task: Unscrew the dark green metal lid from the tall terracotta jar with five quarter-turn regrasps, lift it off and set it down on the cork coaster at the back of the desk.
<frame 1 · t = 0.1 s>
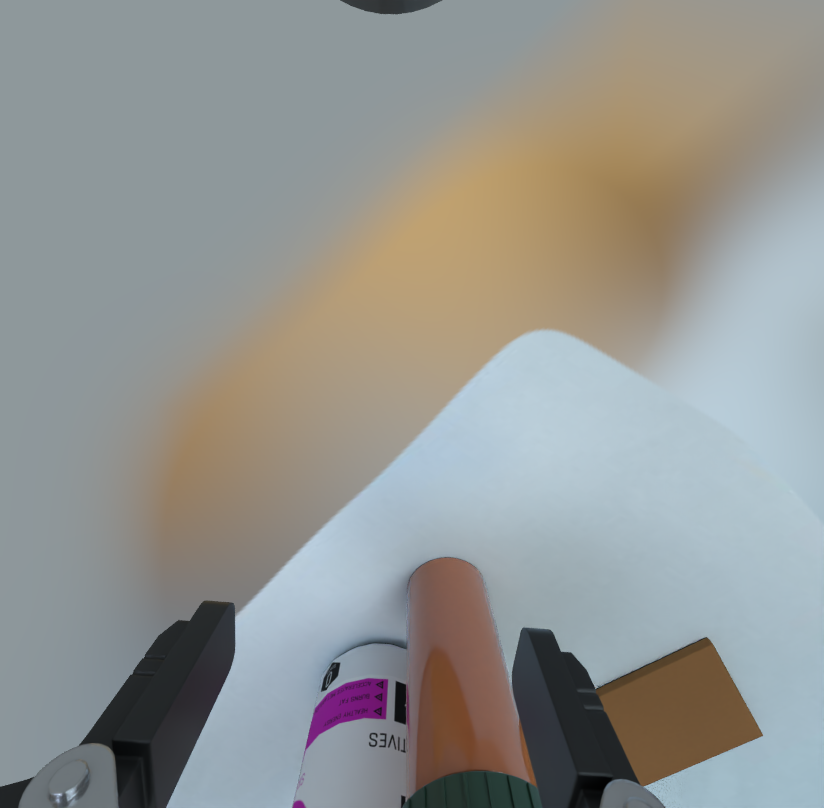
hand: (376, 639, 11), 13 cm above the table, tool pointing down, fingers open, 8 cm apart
supplement can: (379, 680, 29), on the table
coaster: (667, 713, 30), on the table
jar: (446, 590, 27), on the table
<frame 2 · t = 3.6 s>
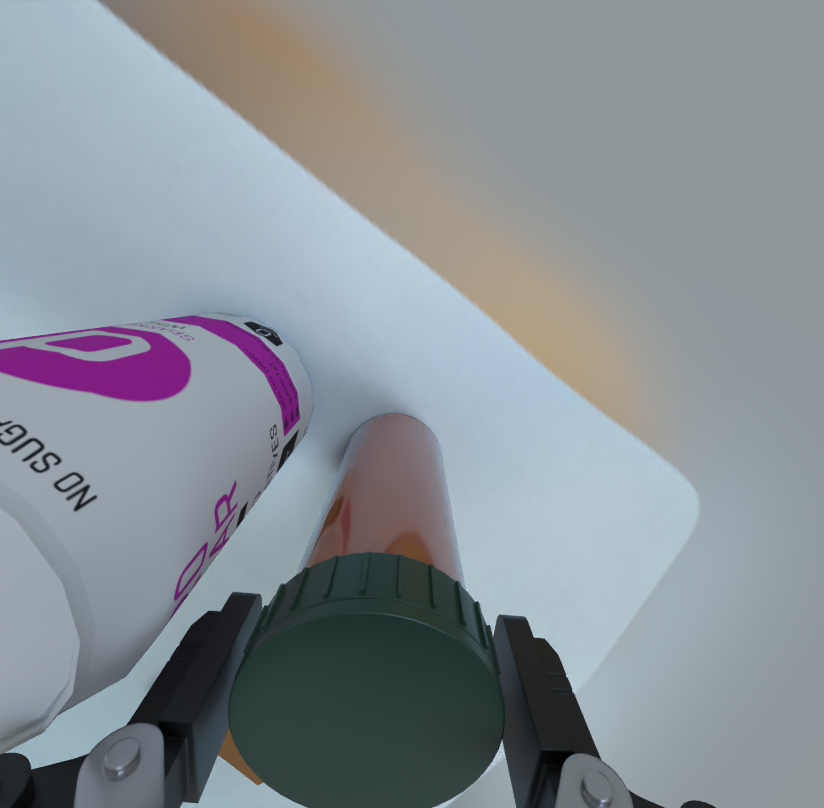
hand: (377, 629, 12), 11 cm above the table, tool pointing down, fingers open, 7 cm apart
supplement can: (239, 391, 21), on the table
coaster: (261, 701, 27), on the table
jar: (394, 458, 22), on the table
lid: (368, 707, 9), point 14 cm above the table, screwed on, not yet turned
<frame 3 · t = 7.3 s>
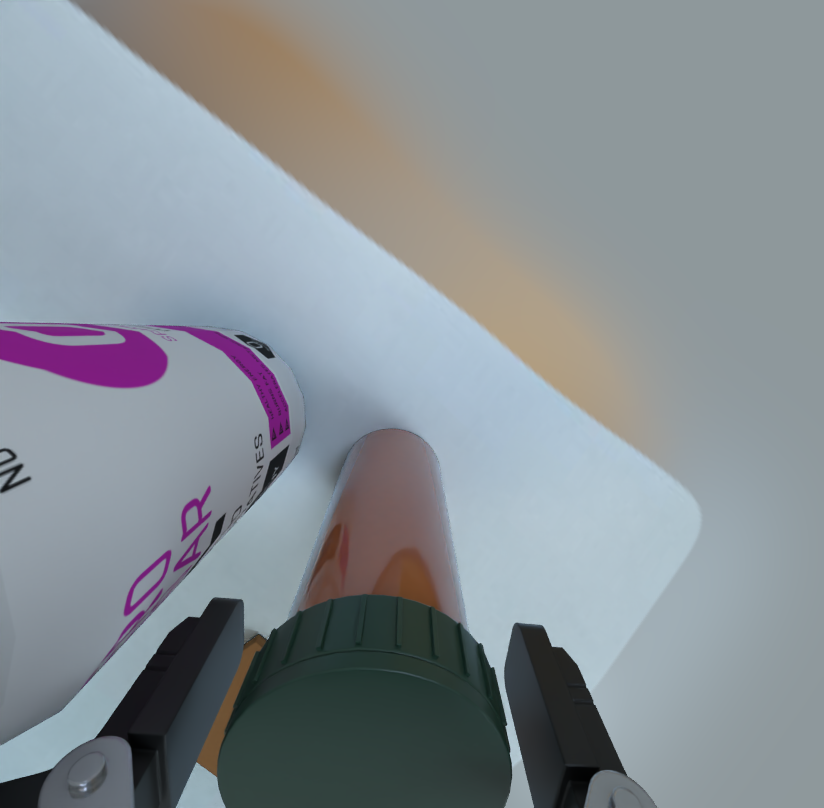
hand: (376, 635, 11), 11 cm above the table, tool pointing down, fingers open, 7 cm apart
supplement can: (229, 409, 21), on the table
coaster: (258, 720, 27), on the table
jar: (391, 473, 22), on the table
lid: (367, 761, 9), point 14 cm above the table, turned 90° so far, risen 0.1 cm, still on its thread
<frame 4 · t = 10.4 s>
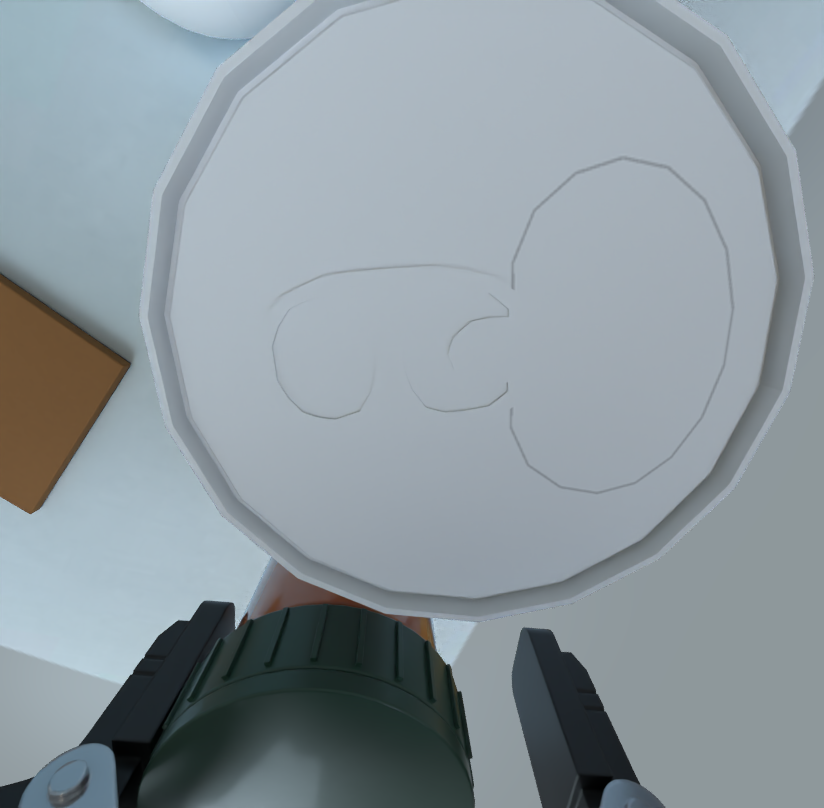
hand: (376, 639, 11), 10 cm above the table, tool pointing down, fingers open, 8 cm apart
supplement can: (423, 302, 19), on the table
jar: (365, 477, 21), on the table
lid: (313, 795, 8), point 14 cm above the table, turned 172° so far, risen 0.2 cm, still on its thread
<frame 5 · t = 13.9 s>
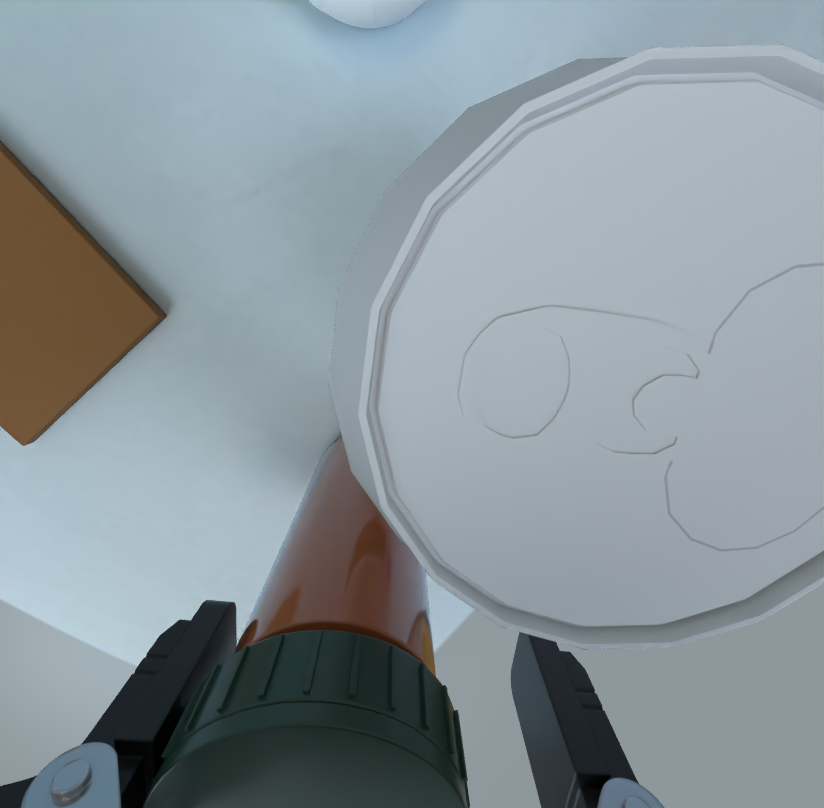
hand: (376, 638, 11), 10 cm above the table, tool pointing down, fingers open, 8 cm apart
supplement can: (470, 318, 19), on the table
coaster: (11, 299, 19), on the table
jar: (366, 478, 21), on the table
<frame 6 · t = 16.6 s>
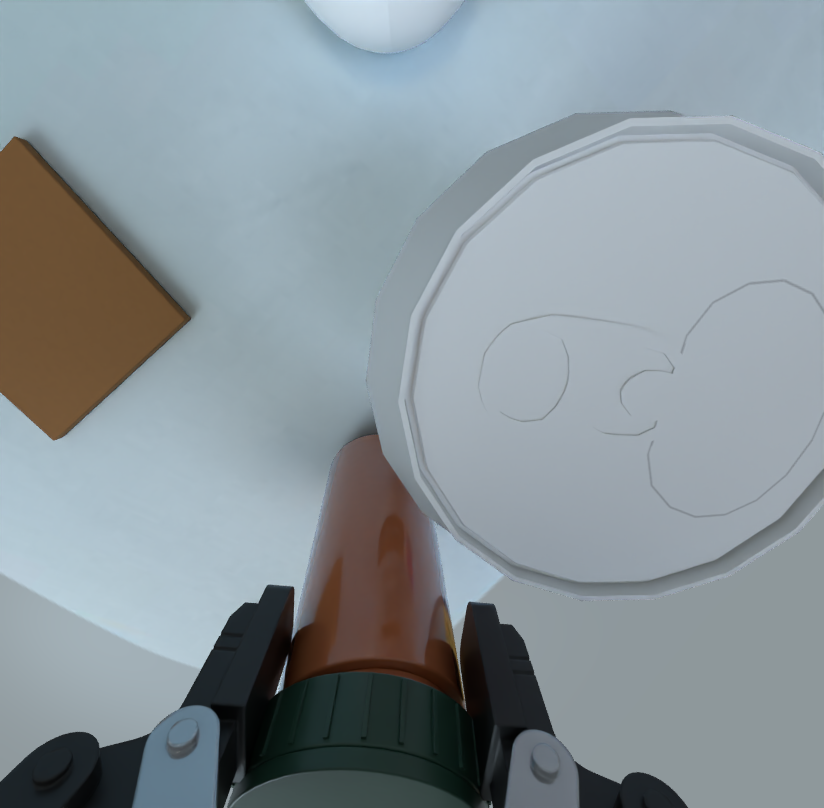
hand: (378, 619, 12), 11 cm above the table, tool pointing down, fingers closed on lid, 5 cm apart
supplement can: (477, 322, 20), on the table
coaster: (46, 302, 20), on the table
jar: (378, 476, 22), on the table, tilted 9°, touching gripper, lid
when the fingers open (11 cm above the table, at t = 16.9 s): lid moves 2 cm, resting on jar.
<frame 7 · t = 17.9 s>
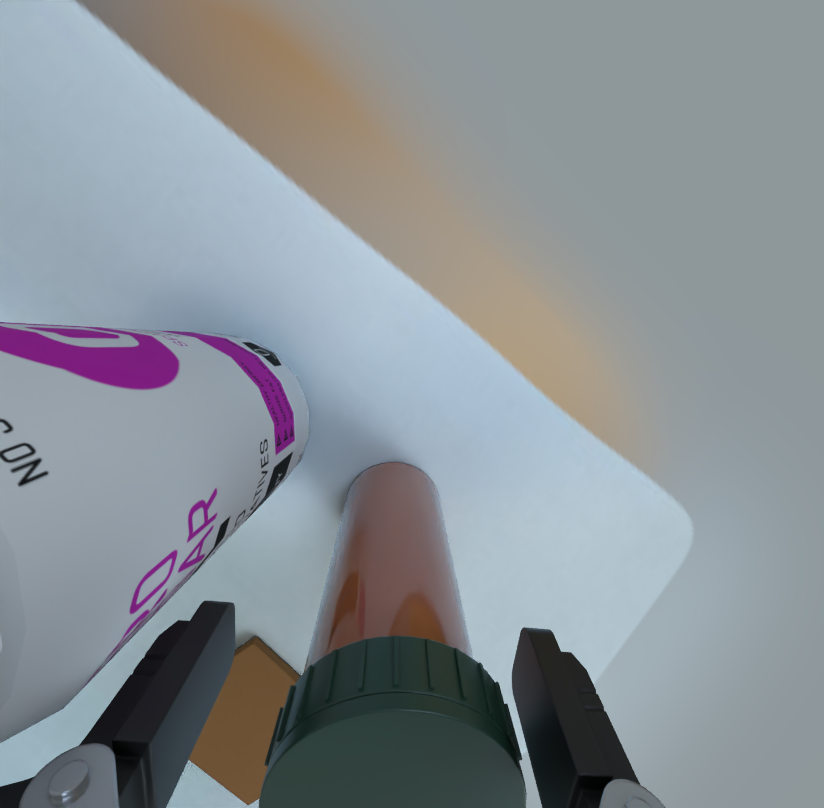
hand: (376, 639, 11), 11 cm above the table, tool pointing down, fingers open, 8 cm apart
supplement can: (234, 416, 21), on the table
coaster: (253, 721, 27), on the table
jar: (393, 505, 23), on the table, touching lid
lid: (394, 791, 9), point 14 cm above the table, off its thread, touching jar
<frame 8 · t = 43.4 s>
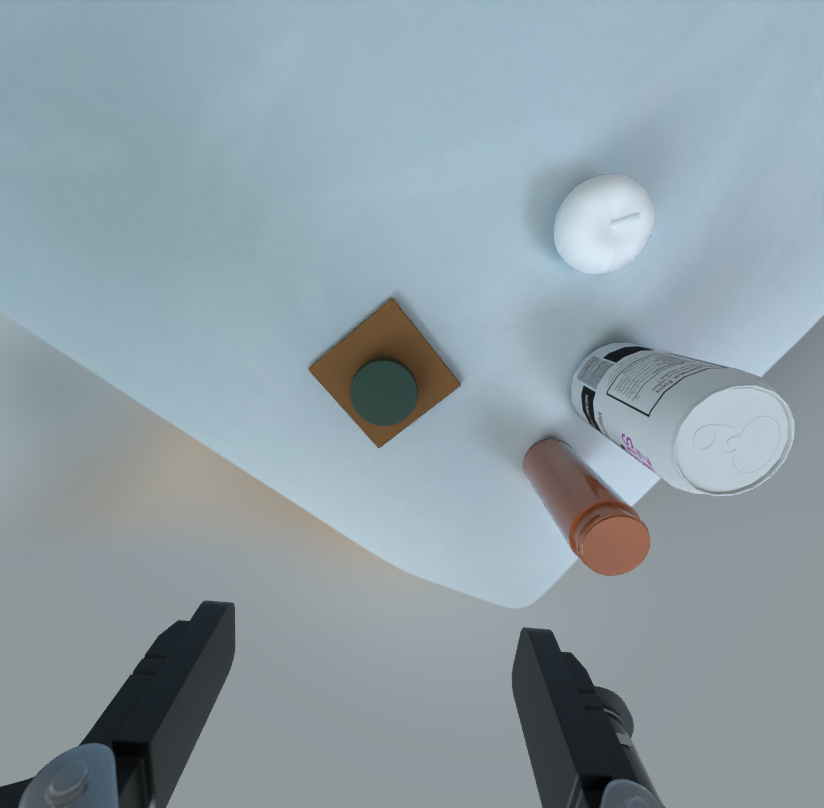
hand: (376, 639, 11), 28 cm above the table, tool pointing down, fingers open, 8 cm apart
supplement can: (610, 384, 38), on the table
coaster: (385, 376, 38), on the table
jar: (549, 463, 40), on the table
lid: (384, 393, 36), point 2 cm above the table, off its thread, touching coaster
plain white apple: (581, 233, 35), on the table
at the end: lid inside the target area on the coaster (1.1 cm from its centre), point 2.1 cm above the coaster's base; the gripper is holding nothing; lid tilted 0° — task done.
